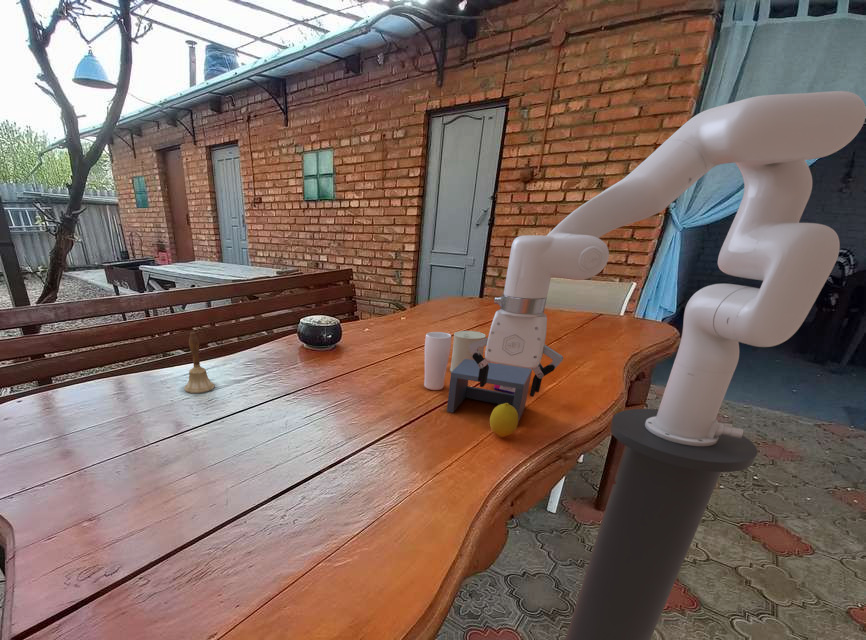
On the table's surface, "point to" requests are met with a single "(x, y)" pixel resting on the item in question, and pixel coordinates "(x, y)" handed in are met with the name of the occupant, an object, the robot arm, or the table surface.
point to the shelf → (496, 376)
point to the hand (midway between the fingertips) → (507, 389)
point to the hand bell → (197, 370)
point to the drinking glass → (436, 359)
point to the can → (464, 346)
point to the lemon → (504, 420)
